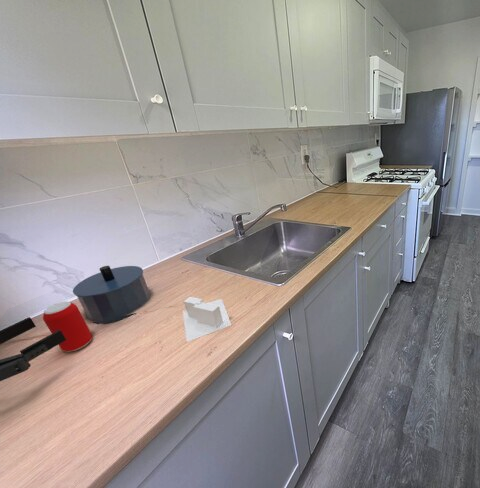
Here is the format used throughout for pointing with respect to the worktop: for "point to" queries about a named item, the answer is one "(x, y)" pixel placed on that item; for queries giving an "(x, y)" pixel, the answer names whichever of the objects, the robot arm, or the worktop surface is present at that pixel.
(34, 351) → the robot arm
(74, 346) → the beverage can
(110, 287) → the pot lid
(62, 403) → the worktop surface
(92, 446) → the worktop surface
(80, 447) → the worktop surface
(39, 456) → the worktop surface
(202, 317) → the napkin holder
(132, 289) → the pot
